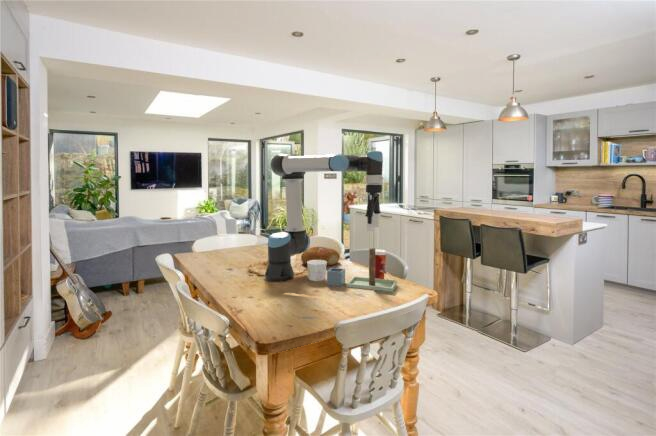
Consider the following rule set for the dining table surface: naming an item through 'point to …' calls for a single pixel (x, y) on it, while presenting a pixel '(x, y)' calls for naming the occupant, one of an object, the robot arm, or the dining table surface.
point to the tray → (380, 286)
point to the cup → (316, 270)
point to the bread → (320, 255)
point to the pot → (336, 277)
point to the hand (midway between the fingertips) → (372, 228)
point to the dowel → (372, 266)
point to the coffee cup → (380, 263)
